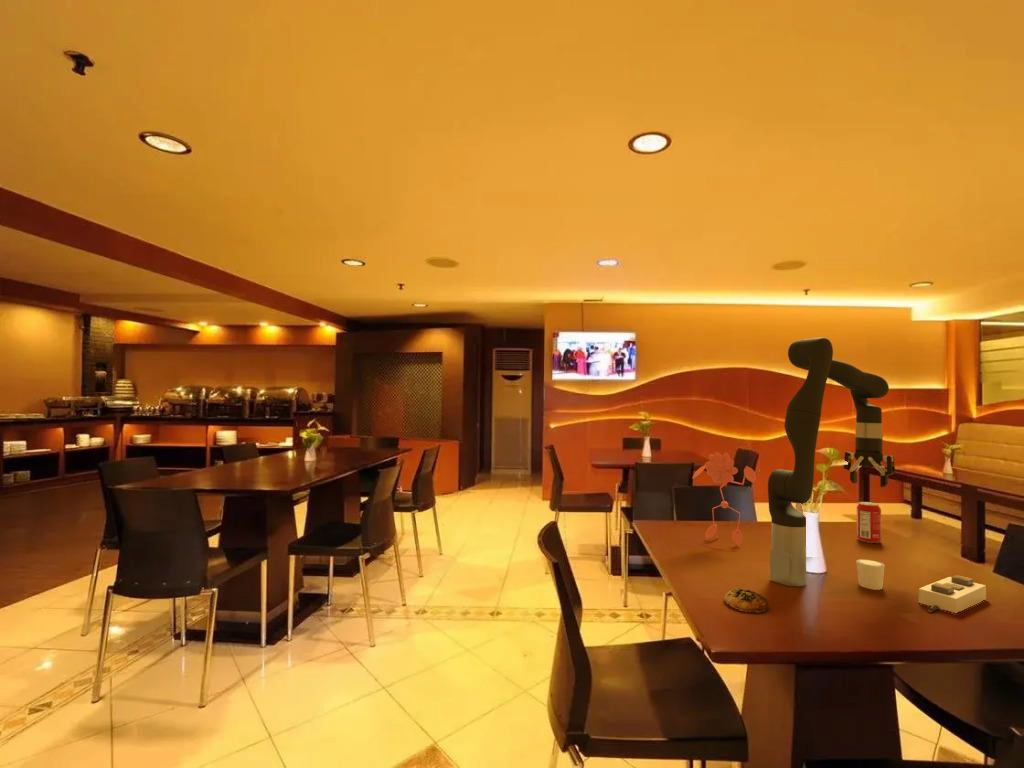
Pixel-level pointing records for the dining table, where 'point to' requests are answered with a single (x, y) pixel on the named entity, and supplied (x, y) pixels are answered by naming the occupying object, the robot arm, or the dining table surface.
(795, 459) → the robot arm
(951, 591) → the switch
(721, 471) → the pink stick figure
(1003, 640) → the dining table surface
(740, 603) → the bread roll
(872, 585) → the white soft cylinder
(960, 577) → the switch
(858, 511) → the soda can
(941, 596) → the power strip
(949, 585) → the switch middle
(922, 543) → the dining table surface
